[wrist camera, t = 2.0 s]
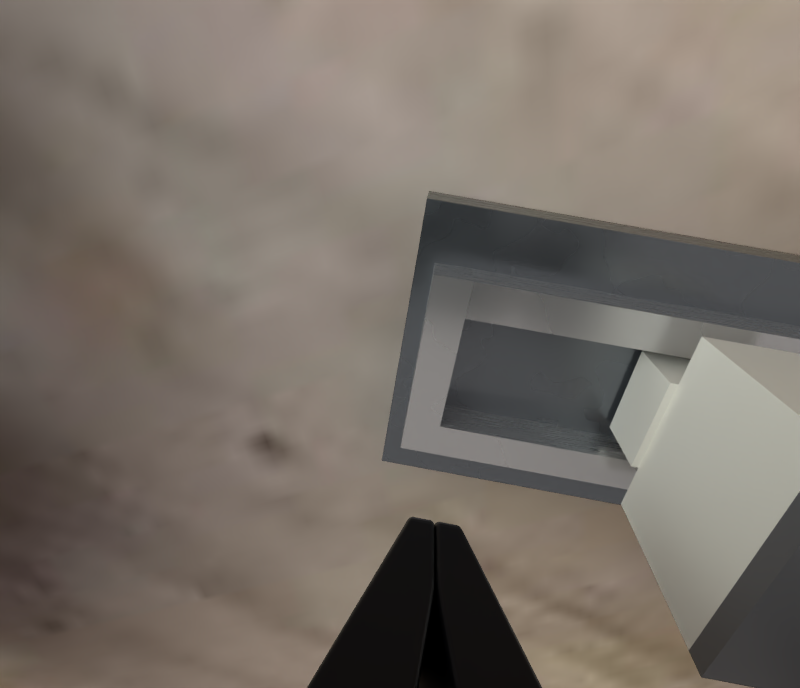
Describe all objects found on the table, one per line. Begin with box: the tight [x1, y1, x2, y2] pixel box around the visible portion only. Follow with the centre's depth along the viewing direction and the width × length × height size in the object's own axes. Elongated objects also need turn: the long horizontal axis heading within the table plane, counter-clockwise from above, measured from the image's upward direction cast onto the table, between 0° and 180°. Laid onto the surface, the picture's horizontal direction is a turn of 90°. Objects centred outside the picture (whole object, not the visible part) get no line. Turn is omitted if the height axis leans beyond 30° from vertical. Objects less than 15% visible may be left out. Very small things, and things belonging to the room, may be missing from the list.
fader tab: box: [610, 337, 800, 688], centre depth 10 cm, size 3×5×6 cm, turn 172°
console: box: [382, 191, 800, 505], centre depth 14 cm, size 20×9×3 cm, turn 81°
